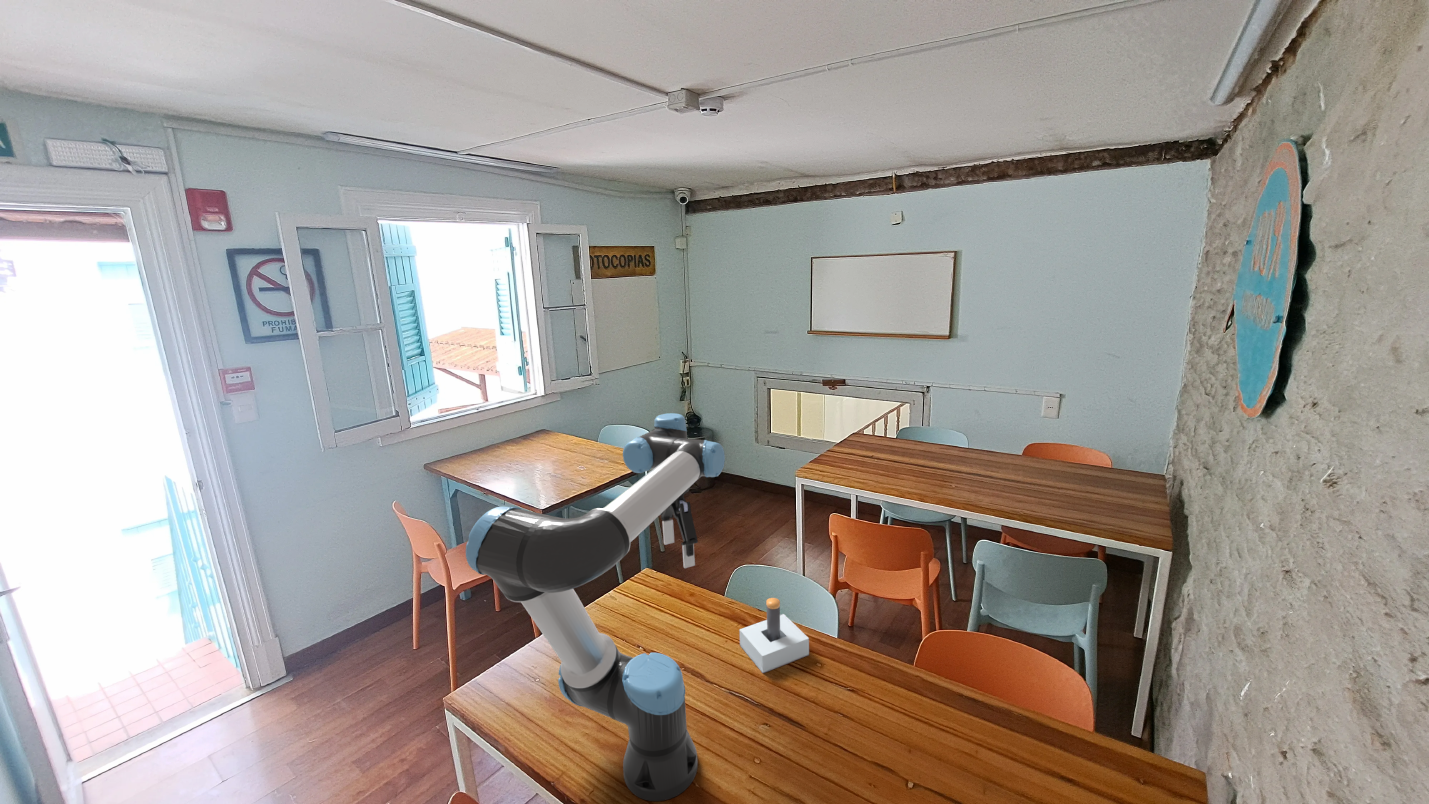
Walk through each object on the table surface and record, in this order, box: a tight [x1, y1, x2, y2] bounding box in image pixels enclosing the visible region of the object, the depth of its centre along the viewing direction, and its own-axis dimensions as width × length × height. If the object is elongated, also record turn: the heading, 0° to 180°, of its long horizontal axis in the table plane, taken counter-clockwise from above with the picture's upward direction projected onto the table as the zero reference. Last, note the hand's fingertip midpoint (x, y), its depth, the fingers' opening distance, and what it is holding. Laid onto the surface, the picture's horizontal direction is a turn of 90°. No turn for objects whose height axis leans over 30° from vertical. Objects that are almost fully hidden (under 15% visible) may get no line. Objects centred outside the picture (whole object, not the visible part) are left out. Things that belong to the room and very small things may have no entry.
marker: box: [765, 597, 781, 642], centre depth 143 cm, size 4×4×14 cm
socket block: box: [739, 613, 810, 674], centre depth 145 cm, size 12×14×5 cm
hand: (678, 554), depth 140 cm, fingers open, 13 cm apart
